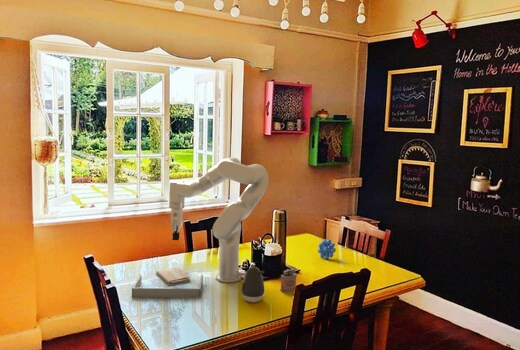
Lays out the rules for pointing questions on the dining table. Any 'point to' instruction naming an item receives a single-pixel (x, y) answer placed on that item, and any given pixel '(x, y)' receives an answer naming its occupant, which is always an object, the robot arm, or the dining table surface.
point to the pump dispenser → (253, 285)
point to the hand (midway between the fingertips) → (175, 239)
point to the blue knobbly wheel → (326, 249)
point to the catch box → (165, 291)
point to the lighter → (288, 281)
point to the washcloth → (173, 276)
